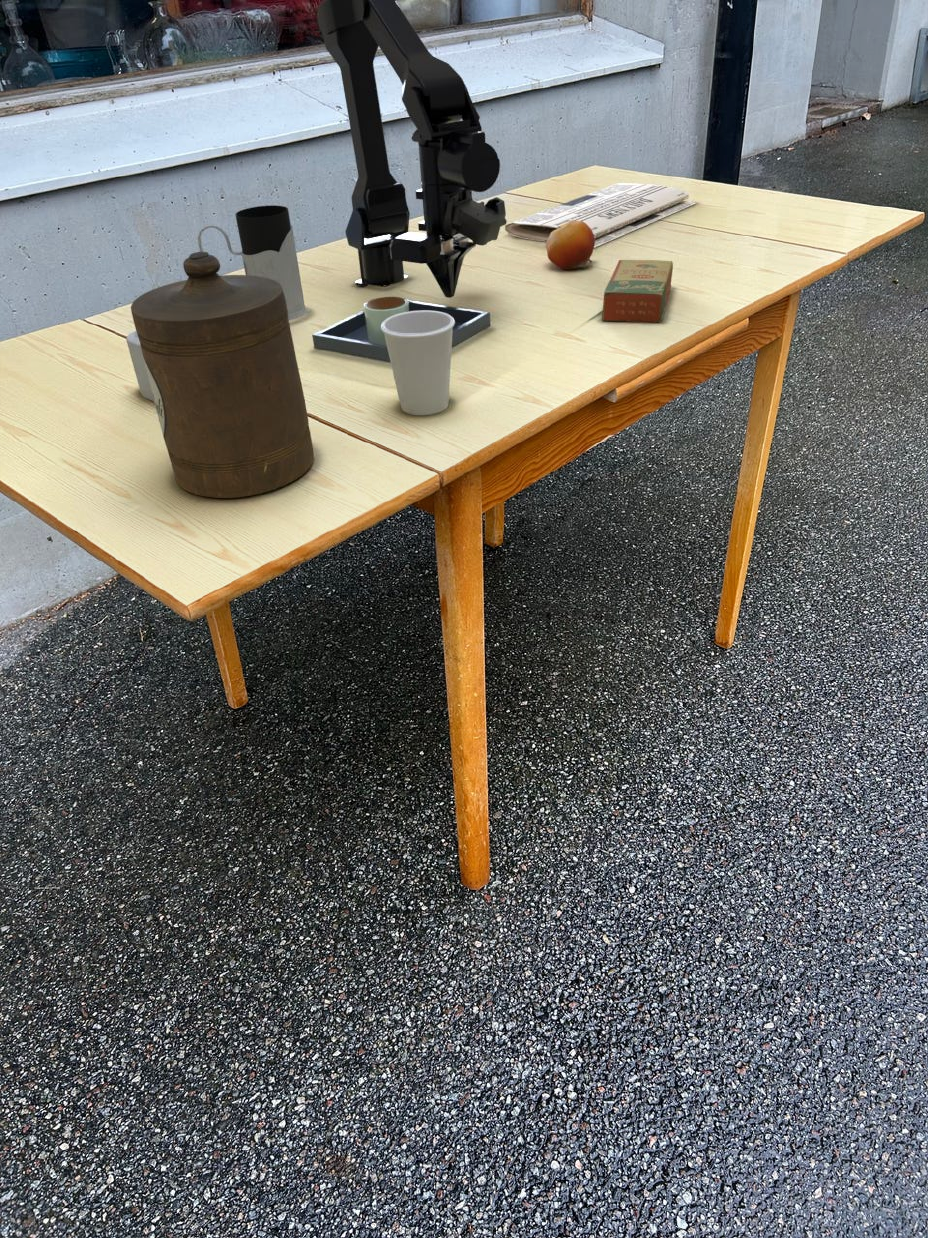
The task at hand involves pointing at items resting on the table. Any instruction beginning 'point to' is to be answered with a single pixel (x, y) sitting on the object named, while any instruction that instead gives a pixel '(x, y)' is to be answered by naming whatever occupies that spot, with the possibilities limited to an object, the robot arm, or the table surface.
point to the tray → (354, 341)
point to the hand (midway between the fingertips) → (449, 296)
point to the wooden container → (225, 381)
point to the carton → (638, 291)
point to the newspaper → (606, 212)
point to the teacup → (382, 315)
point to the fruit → (571, 245)
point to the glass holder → (269, 251)
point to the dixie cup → (420, 359)
